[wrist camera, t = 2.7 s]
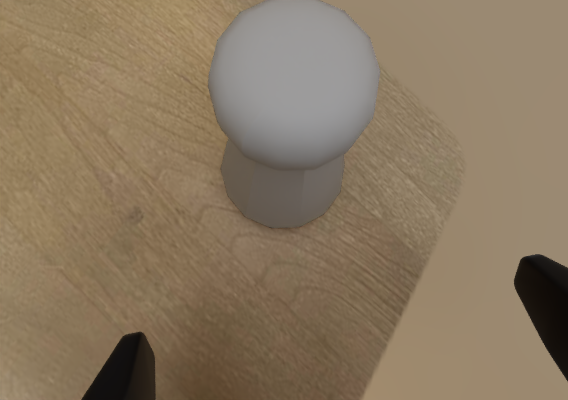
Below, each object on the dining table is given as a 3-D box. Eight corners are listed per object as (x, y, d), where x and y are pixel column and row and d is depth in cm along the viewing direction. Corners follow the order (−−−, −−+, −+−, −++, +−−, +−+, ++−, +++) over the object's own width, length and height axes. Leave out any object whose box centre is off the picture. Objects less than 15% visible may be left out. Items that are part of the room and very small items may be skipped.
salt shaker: (215, 139, 23) (144, -26, 10) (318, 114, 23) (378, -77, 10) (242, 245, 22) (202, 216, 9) (348, 217, 22) (455, 150, 9)
